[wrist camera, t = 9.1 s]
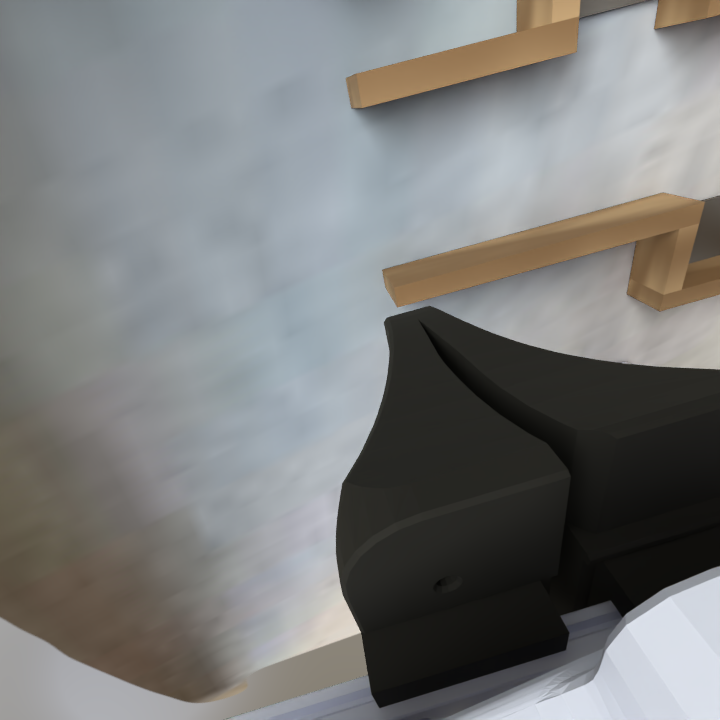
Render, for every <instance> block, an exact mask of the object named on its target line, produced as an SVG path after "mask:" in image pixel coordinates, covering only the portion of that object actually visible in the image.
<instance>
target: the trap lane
mask: <svg viewBox="0 0 720 720" xmlns="http://www.w3.org/2000/svg"><path fill="white" fill-rule="evenodd" d="M644 1H647V0H517V32H516V33H513V34H509V35H505V36H501V37H497V38H493V39H489V40H485V41H482V42H478V43H474V44H470V45H466V46H462V47H458V48H454V49H450V50H447V51H443V52H439V53H435V54H431V55H427V56H423V57H419V58H416V59H412V60H408V61H404V62H400V63H396V64H392V65H388V66H385V67H381V68H377V69H373V70H369V71H365V72H361V73H357V74H355V75H352V76H350V77H348V78H346V82H347V87H348V93H349V98H350V103H351V108H364V107H368V106H372V105H376V104H380V103H383V102H387V101H391V100H395V99H399V98H403V97H406V96H410V95H414V94H418V93H422V92H426V91H429V90H433V89H437V88H441V87H445V86H449V85H452V84H456V83H460V82H464V81H468V80H472V79H475V78H479V77H483V76H487V75H491V74H495V73H498V72H502V71H506V70H510V69H514V68H518V67H521V66H525V65H529V64H533V63H537V62H541V61H544V60H548V59H552V58H556V57H560V56H564V55H567V54H571V53H575V52H577V39H578V26H579V18H581V17H585V16H589V15H593V14H597V13H601V12H605V11H609V10H612V9H616V8H620V7H624V6H628V5H632V4H636V3H640V2H644ZM717 15H720V0H659V2H658V8H657V15H656V21H655V27H654V29H657V28H662V27H667V26H672V25H677V24H681V23H686V22H691V21H696V20H700V19H705V18H709V17H713V16H717ZM634 241H637V242H636V247H635V253H634V258H633V264H632V269H631V274H630V280H629V285H628V291H627V294H628V295H630V296H631V297H633V298H635V299H637V300H639V301H641V302H643V303H645V304H647V305H648V306H650V307H652V308H654V309H656V310H658V311H663V310H666V309H670V308H673V307H677V306H681V305H684V304H688V303H691V302H695V301H698V300H702V299H705V298H709V297H712V296H716V295H719V294H720V196H717V197H713V198H709V199H706V200H702V201H699V200H694V199H689V198H685V197H680V196H676V195H671V194H666V193H660V194H657V195H653V196H649V197H646V198H642V199H638V200H635V201H631V202H627V203H624V204H620V205H616V206H613V207H609V208H606V209H602V210H598V211H595V212H591V213H587V214H584V215H580V216H576V217H573V218H569V219H566V220H562V221H558V222H555V223H551V224H547V225H544V226H540V227H536V228H533V229H529V230H525V231H522V232H518V233H515V234H511V235H507V236H504V237H500V238H496V239H493V240H489V241H485V242H482V243H478V244H475V245H471V246H467V247H464V248H460V249H456V250H453V251H449V252H445V253H442V254H438V255H434V256H431V257H427V258H424V259H420V260H416V261H413V262H409V263H405V264H402V265H398V266H394V267H391V268H387V269H384V270H382V271H383V277H384V282H385V287H386V289H387V291H388V293H389V294H390V296H391V297H392V299H393V301H394V302H395V304H396V306H397V307H401V306H404V305H408V304H411V303H415V302H419V301H422V300H426V299H429V298H433V297H437V296H440V295H444V294H447V293H451V292H455V291H458V290H462V289H465V288H469V287H473V286H476V285H480V284H483V283H487V282H491V281H494V280H498V279H501V278H505V277H509V276H512V275H516V274H519V273H523V272H526V271H530V270H534V269H537V268H541V267H544V266H548V265H552V264H555V263H559V262H562V261H566V260H570V259H573V258H577V257H580V256H584V255H588V254H591V253H595V252H598V251H602V250H606V249H609V248H613V247H616V246H620V245H624V244H627V243H631V242H634Z"/></svg>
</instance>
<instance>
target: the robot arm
mask: <svg viewBox="0 0 720 720" xmlns="http://www.w3.org/2000/svg"><path fill="white" fill-rule="evenodd" d="M384 325H385V330H386V335H387V340H388V345H389V350H390V357H389V367H388V375H387V381H386V386H385V391H384V395H383V399H382V402H381V405H380V408H379V412H378V415H377V418H376V420H375V423H374V425H373V428H372V430H371V432H370V434H369V436H368V439H367V441H366V443H365V445H364V447H363V449H362V451H361V453H360V455H359V457H358V459H357V460H356V462H355V464H354V465H353V467H352V469H351V470H350V472H349V474H348V475H347V477H346V478H345V480H344V482H343V483H342V489H341V495H340V502H339V509H338V517H337V528H336V557H337V565H338V571H339V578H340V584H341V588H342V593H343V596H344V598H345V600H346V602H347V604H348V606H349V609H350V611H351V613H352V615H353V617H354V619H355V621H356V623H357V625H358V627H359V629H360V631H361V634H362V640H363V646H364V652H365V658H366V665H367V671H368V675H367V676H363V677H360V678H357V679H354V680H350V681H347V682H344V683H341V684H337V685H334V686H331V687H328V688H324V689H321V690H318V691H315V692H311V693H308V694H305V695H302V696H299V697H295V698H292V699H289V700H285V701H283V702H279V703H276V704H273V705H269V706H266V707H263V708H259V709H257V710H253V711H250V712H246V713H243V714H240V715H237V716H233V717H230V718H227V719H224V720H720V370H716V369H694V368H672V367H654V366H644V365H634V364H630V363H629V362H623V363H616V362H608V361H601V360H594V359H589V358H583V357H578V356H572V355H567V354H562V353H557V352H553V351H549V350H545V349H541V348H537V347H534V346H530V345H526V344H523V343H520V342H516V341H513V340H510V339H508V338H505V337H502V336H499V335H496V334H493V333H491V332H488V331H486V330H483V329H481V328H478V327H476V326H474V325H471V324H469V323H467V322H465V321H462V320H460V319H458V318H456V317H454V316H452V315H449V314H447V313H445V312H443V311H441V310H439V309H436V308H434V307H431V306H427V307H424V308H420V309H416V310H413V311H409V312H406V313H402V314H398V315H395V316H391V317H388V318H387V319H386V320H385V322H384Z"/></svg>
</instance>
